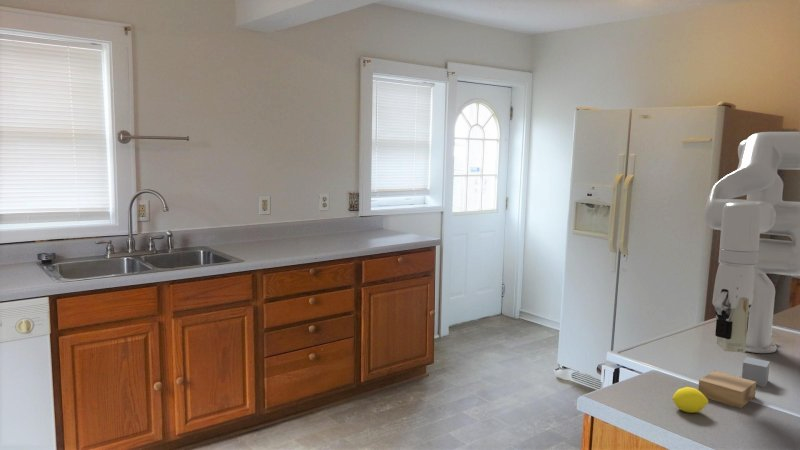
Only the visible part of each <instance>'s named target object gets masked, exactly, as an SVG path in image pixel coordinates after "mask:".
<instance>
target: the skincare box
mask: <svg viewBox="0 0 800 450" xmlns="http://www.w3.org/2000/svg"><path fill="white" fill-rule="evenodd" d="M724 306H727V307H730V306H731V304H730V303H729V300H728V304H727V305H725V304H724ZM748 308H749V299H746V298H744V299H742V301H741V304H740V307H739V309H736V310H734V312H733V315H732V318H731V321H732V322H733V324H732V335H731V339H725V338H721V337H717V336H716V342H715V343H716V345H717V346H718V347H720V348H721V349H722V350H723V351H724V352H731V353H744V354H745V353H746V351H745V349H746V335H747V321H748ZM725 311H726V313H727V315H728V312H729V310H725Z"/></svg>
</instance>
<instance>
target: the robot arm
mask: <svg viewBox="0 0 800 450" xmlns="http://www.w3.org/2000/svg"><path fill="white" fill-rule="evenodd" d="M737 155H738V161H739V162H738V165H737V168H736V169H735V170H734V171H732V172H731V173H729V174H726V175H725V176H723V178H720V180H718V181H716V183H715V184H714V185H713V187H712V188H711V189H710V191H709V195H708V197H707V201H706V205H705V209H704V214H703V215H704V216H703V217H704V218H703V219H704V222H705V225H707V226H708V228H710V229H711V230H717V231H720V236H719V237H720V239H719V240H720V242H719V251H718V252H719V253H718V261H717V262H718V267H717V271H716V274H715V278H714V279H715V280H714V286H713V293H712V300H711V301H712V302H711V303H712V305H713V307H714V310H715V320H716V321H715V335H714V336H715V337H716V338H717V337H721V338H725V339H731V335H732V324H733V322H732V321H731V318H732V315H733V312H734V310H736V309H739V307H740V304H741V301H742V299H744V298H746V299H749V308H748V321H747V335H746V349H745V352H748V353H749V352H750V353H754V354H755V353H756V354H772V353H775V352H777V344H775V343H773V342H772V336H773V334H774V331H773V330H772V329H773V320H774V318H773V317H774V310H775V309H774V308H775V301H776V300H775V297H776V288H775V285H774V283H773V282H772V280H771V279H770V278H769V277H768V275H767V274H770V275H771V274H776V275H783V276H791V277H792V276H793V277H800V201H787V200H783V194H784V193H783V191H784V181H783V180H782V178H781V176H780V175H779V174H778V170H795V171H799V170H800V131H762V132H756V133H754V134H751V135H750V136H748V137H747V138H746V139H743V140H742V141H740V142H739V145H738V147H737ZM744 196H746V199H739V197H744ZM737 198H738V199H737ZM761 234H763V235H774V236H786V237H789V238H790V239H791V240H782V239H781V240H780V239H774V238H773V239H772V238H761V237H760V236H761ZM728 300H729V303H730V304H731V306H730V307H727V306H724V304H725V305H727V304H728ZM725 310H729V312H728V315H727V313H726V311H725Z"/></svg>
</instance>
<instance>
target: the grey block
mask: <svg viewBox="0 0 800 450" xmlns="http://www.w3.org/2000/svg"><path fill="white" fill-rule="evenodd" d="M770 363H771V361H768V360H763V359H759V358H753V357H749V356H746V357H745V359H744V360H743V362H742V370H741V371H742V373H741V378H744V379H748V380H752V381H755V382H756V386H758V385H760V386H759V387H763V386H764V388H766V386H767V385H768V381H769V373H770Z"/></svg>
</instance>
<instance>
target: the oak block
mask: <svg viewBox="0 0 800 450" xmlns="http://www.w3.org/2000/svg"><path fill="white" fill-rule="evenodd" d="M756 388H757V385H756V382H755V381H752V380H748V379H744V378H742V376H741V377H739V376H736V375H732V374H729V373H725V372H722V371H719V370H718V371H717V370H716V369H715V370H713V371H711V372H710V373H708V374H707V375H705V376H703V377H702V378H699V381H698V389H697V390H699V391H700V392H701V393H702V394H703V395H704V396H705V397H706V398H707V399H708V400H712V401H715V402H718V403H719V402H720V403H723V404H725V405H728V406H729V405H730V406H733V407H736V408H738V409H741V408H743V407H744V406H745V405H747V404H748V403H749V402H751V401H752V400H754V398H755V397H756Z"/></svg>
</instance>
